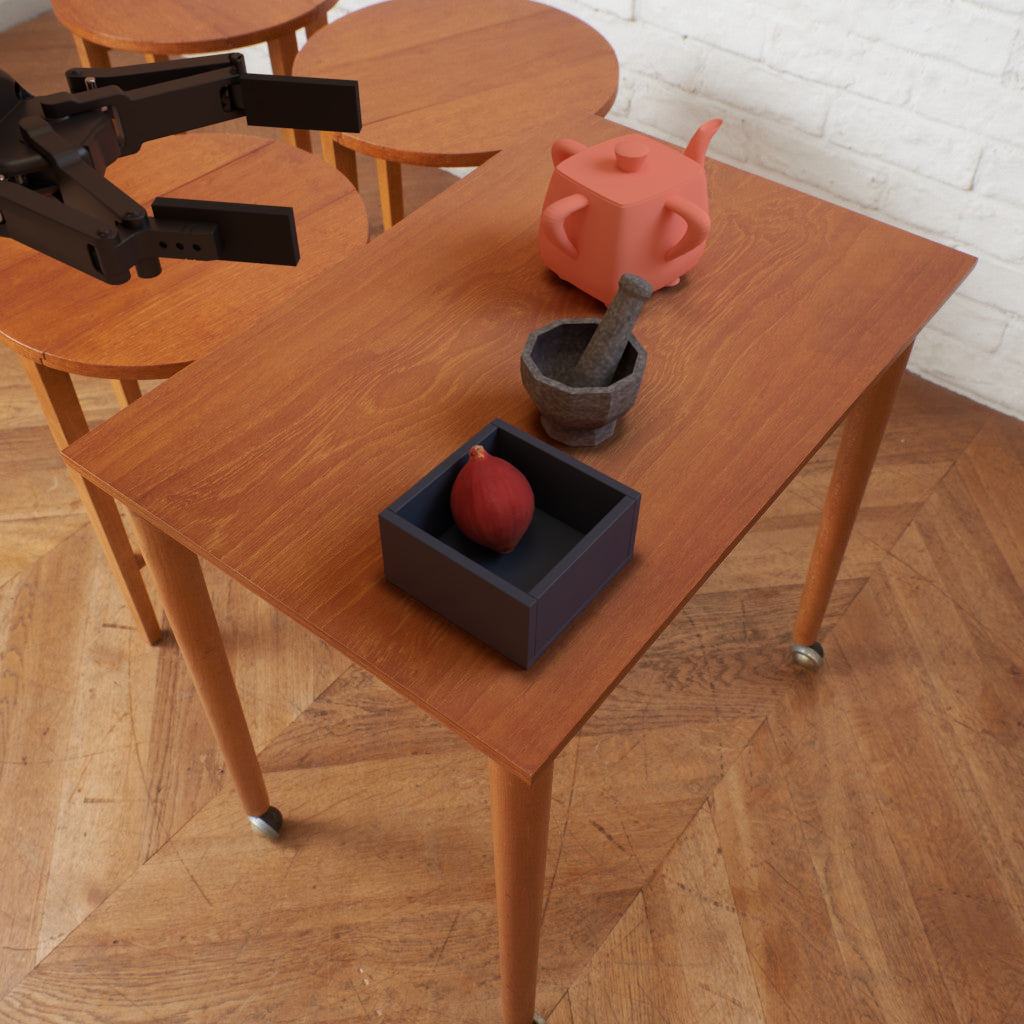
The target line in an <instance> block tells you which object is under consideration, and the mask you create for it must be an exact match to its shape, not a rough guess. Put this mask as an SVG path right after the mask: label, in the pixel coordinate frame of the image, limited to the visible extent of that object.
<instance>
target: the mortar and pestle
mask: <svg viewBox="0 0 1024 1024" xmlns="http://www.w3.org/2000/svg"><path fill="white" fill-rule="evenodd" d="M618 284H619V290H618V291H617V293H616V295H615V297H614V299H613V300H612V302H611V304H610V306H609V308H606V311H605V313H604V315H603V317H602V319H601V318H598V317H579V318H575V317H574V318H558V319H556V320H554V321H552V322H549V323H547V324H545V325H544V326H542V327H539V328H537V329H535V330H533V331H531V332H530V333H529V334H528V337H527V339H526V342H525V344H524V347H523V349H522V352H521V353H520V358H519V359H520V363H519V370H520V376H521V383H522V386H523V387H524V389H525V390H526V392H527V394H528V395H529V397H530V399H531V400H532V402H533V404H534V405H535V407H536V408H537V410H538V411H539V413H540V415H541V416H540V424H541V426H542V427H543V429H544V430H545V432H546V434H547V436H548V437H549V438H550V439H552V440H555V441H556V442H559V443H561V444H564V445H566V446H567V447H573V448H574V447H595V446H597V445H598V444H601V443H602V442H604V441H606V440H607V439H610V438H611V437H613V435H614V431H615V428H616V425H617V422H618V419H620V418H621V417H624V416H625V415H626V414H627V413H628V412H629V411H630V410H631V409H632V408H633V407H634V406H635V403H636V402H637V399H638V395H639V393H640V388H641V385H642V383H643V377H644V374H645V370H646V367H647V360H648V351H647V350H646V349H645V347H644V346H643V345H642V344H641V342H640V341H639V339H638V338H637V337H636V336H635V335H634V334H633V330H634V328H635V326H636V324H637V321H638V319H639V316H640V314H641V311H642V310H643V306H644V304H645V302H646V301H648V300H649V299H651V297H652V295H653V286H652V285H651V284H650V283H649V282H648V281H646V280H645V279H643V278H641V277H639V276H636V275H633V274H628V273H625V274H623V275H622V276H621V278H620V280H619V282H618Z"/></svg>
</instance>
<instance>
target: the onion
mask: <svg viewBox="0 0 1024 1024" xmlns="http://www.w3.org/2000/svg"><path fill="white" fill-rule="evenodd" d="M469 456H470V458H469V461H468V462H467V464H466V465H465V466H464V467H463V468H462V469H461V471H460V472H459V474H458V475H457V478H456V480H455V482H454V485H453V488H452V491H451V497H450V505H451V512H452V515H453V519H454V521H455V523H456V524H457V526H458V528H459V529H460V530H461V531H462V532H463V533H464V534H465V535H466V536H467V537H468V538H469V539H470V540H472V541H474V542H476V543H478V544H480V545H483V546H485V547H488V548H490V549H493V550H494V551H496V552H498V553H501V554H506V553H510V552H511V551H513V550H514V548H515V547H516V545H517V544H518V542H519V541H520V539H521V538H522V536H523V535H524V533H525V532H526V530H527V529H528V527H529V525H530V523H531V520H532V518H533V513H534V508H535V503H534V494H533V492H532V489H531V487H530V484H529V482H528V481H527V479H526V478H525V476H524V475H523V474H522V473H521V472H520V471H519V470H518V469H517V468H515V467H514V466H513V465H511V464H510V463H508V462H507V461H505V460H503V459H501V458H498V457H494V456H492V455H490V454H488V453H487V452H486V451H485V450H484V449H483V446H479V445H476V446H474V447H472V448H471V449H470V453H469Z"/></svg>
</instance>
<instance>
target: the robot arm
mask: <svg viewBox="0 0 1024 1024" xmlns="http://www.w3.org/2000/svg"><path fill="white" fill-rule="evenodd" d="M64 76H65V80H66V83H67V86H68V90H67V91H58V92H55V93H51V94H47V95H45V94H44V95H38V96H36V95H33V94H32V93H30V92H29V91H27V90H26V88H25V87H23V86H22V85H21V84H20V83H19V82H18V81H17V80H16V79H15V78H14V77H13V76H12V75H11V74H10V73H8V72H7V71H5V70H4V69H3V68H0V238H7V239H11V240H14V241H15V242H18V243H19V244H22V245H24V246H26V247H28V248H30V249H32V250H34V251H37V252H38V253H41V254H43V255H44V256H47V257H49V258H51V259H54V260H56V261H58V262H60V263H62V264H64V265H67V266H68V267H71V268H73V269H75V270H77V271H80V272H81V273H84V274H86V275H88V276H89V277H93V278H94V279H97V280H98V281H101V282H103V283H105V284H107V285H110V286H120V285H124V284H126V283H128V282H129V281H130V280H131V278H132V274H131V271H130V270H131V269H132V268H134V267H135V271H136V275H137V277H138V278H140V279H144V280H148V279H153V278H157V277H158V276H160V275H161V274H162V272H163V267H162V264H161V261H160V259H161V258H162V259H174V260H188V261H194V260H195V261H197V262H198V261H199V262H211V261H223V262H234V263H247V264H248V263H249V264H261V265H273V266H283V267H284V266H286V267H297V266H298V265H299V262H300V260H301V253H300V245H299V239H298V232H297V226H296V219H295V214H294V207H293V206H282V205H270V204H269V205H268V204H257V203H243V202H231V201H217V200H204V199H191V198H190V199H189V198H177V197H165V196H156V197H155V198H154V199H153V200H152V203H151V204H150V206H151V210H152V215H153V216H150V215H148V211H147V209H146V208H145V207H144V206H143V205H141V204H140V203H139V202H137V200H134V199H133V198H132V197H131V196H130V195H128V194H127V193H126V192H124V191H123V190H122V189H121V188H119V187H118V186H117V185H115V184H114V183H113V182H112V181H111V180H109V179H107V177H105V174H106V171H107V168H108V167H110V166H111V165H112V164H114V163H115V162H116V161H117V160H118V159H121V158H125V157H128V156H133V155H135V154H137V153H138V152H140V151H141V148H142V145H143V144H144V143H147V142H152V141H154V140H159V139H162V138H163V139H164V138H166V137H171V136H174V135H178V134H182V133H186V132H190V131H194V130H198V129H201V128H206V127H209V126H213V125H217V124H221V123H225V122H229V121H232V120H233V121H234V120H237V119H240V118H245V120H246V126H247V127H248V126H249V127H263V128H275V129H292V130H305V131H316V132H317V131H318V132H333V133H346V134H361V131H362V130H363V120H362V119H363V118H362V110H361V100H360V99H361V98H360V88H359V87H360V85H359V80H358V79H357V80H356V79H340V78H328V77H327V78H326V77H311V76H296V75H280V74H269V73H267V74H266V73H253V72H252V73H251V72H248V71H247V65H246V60H245V55H244V53H241V52H239V51H237V52H236V51H235V52H226V53H219V54H218V53H217V54H211V55H202V56H195V57H185V58H178V59H170V60H162V61H154V62H147V63H139V64H131V65H123V66H115V67H72V68H69V69H67V70H66V71H65V72H64ZM114 120H115V121H114ZM114 122H115V123H114ZM115 125H116V126H115ZM116 128H117V130H116ZM117 131H118V135H117Z"/></svg>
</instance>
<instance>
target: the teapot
mask: <svg viewBox="0 0 1024 1024" xmlns="http://www.w3.org/2000/svg"><path fill="white" fill-rule="evenodd" d="M723 123H724V120H723V119H722V118H713V119H711V120H708V121H706V122H704V123H703V124H701V126H700V127H698V128H697V129H696V131H695V133H694V134H693V135H692V137H691V138H690V140H689V142H688V144H687V146H686V148H685V150H684V151H683V153H681V152H679V151H676V150H675V149H673V148H671V147H669V146H667V145H666V144H664V143H661V142H659V141H657V140H654V139H652V138H650V137H648V136H646V135H643V134H641V133H637V132H635V133H634V132H633V133H628V134H624V135H621V136H618V137H614V138H612V139H609V140H606V141H603V142H600V143H598V144H597V143H596V144H594V145H592V146H590V147H587V146H586V145H584V144H582V143H580V142H578V141H576V140H575V139H570V138H558V139H557V140H555V141H554V142H553V143H552V144H551V150H550V151H551V153H550V154H551V161H552V164H553V167H554V169H553V171H552V174H551V177H550V180H549V184H548V186H547V190H546V193H545V197H544V200H543V203H542V209H541V213H540V219H539V224H538V225H539V226H538V232H537V233H538V234H537V247H538V252H539V254H540V258H541V260H542V263H543V265H544V266H545V267H547V269H550V270H551V271H552V272H553V273H555V274H556V275H557V276H558V277H559V278H560V279H561V280H563V281H566V282H568V283H570V284H571V285H573V286H575V287H576V288H577V289H579V290H580V291H583V292H584V293H586V294H588V295H589V296H591V297H592V298H594V299H596V300H599V301H600V302H602V303H603V304H604V306H605V307H606V309H608V308H609V306H610V304H611V302H612V300H613V299H614V297H615V295H616V293H617V291H618V290H619V284H618V282H619V280H620V278H621V276H622V275H623V274H625V273H628V274H633V275H636V276H639V277H641V278H643V279H645V280H646V281H648V282H649V283H650V284H651V285H652V286H653V292H657V291H658V290H660V289H662V288H664V287H674V286H677V285H678V284H679V283H680V282H681V281H680V280H681V278H680V277H681V276H683V275H684V274H686V273H687V272H689V271H690V270H691V269H692V268H693V267H695V265H696V264H698V261H699V260H700V258H701V256H702V255H703V253H704V251H705V247H706V245H707V244H706V243H707V237H708V236H709V234H710V232H711V229H712V221H711V218H710V216H709V194H708V186H707V185H708V184H707V176H706V175H707V174H706V170H705V161H706V155H707V151H708V148H709V145H710V143H711V141H712V139H713V137H714V136H715V135H716V133H717V131H718V130H720V128H721V127H722V125H723Z"/></svg>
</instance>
